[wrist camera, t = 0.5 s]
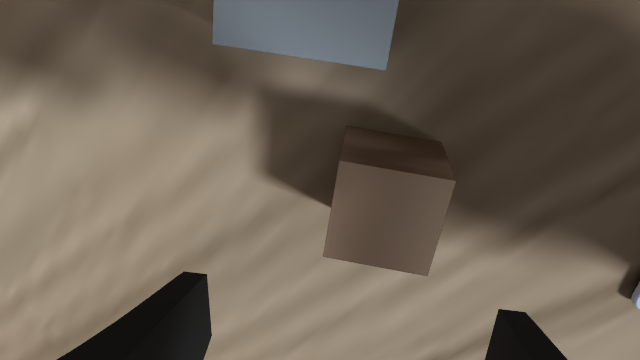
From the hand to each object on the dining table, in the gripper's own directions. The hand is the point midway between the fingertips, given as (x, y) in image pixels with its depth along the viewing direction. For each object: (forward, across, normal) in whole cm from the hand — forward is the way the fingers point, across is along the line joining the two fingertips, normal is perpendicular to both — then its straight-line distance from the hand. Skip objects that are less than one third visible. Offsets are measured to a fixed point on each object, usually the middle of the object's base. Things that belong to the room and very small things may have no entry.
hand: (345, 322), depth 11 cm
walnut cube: (+10, -1, 0) cm, 10 cm away
